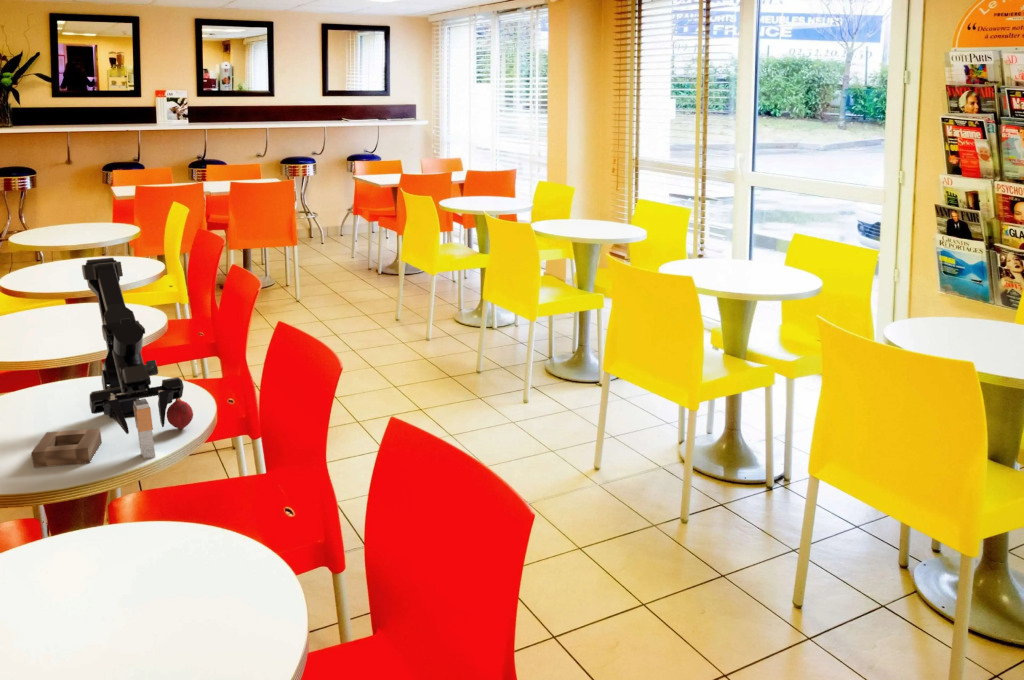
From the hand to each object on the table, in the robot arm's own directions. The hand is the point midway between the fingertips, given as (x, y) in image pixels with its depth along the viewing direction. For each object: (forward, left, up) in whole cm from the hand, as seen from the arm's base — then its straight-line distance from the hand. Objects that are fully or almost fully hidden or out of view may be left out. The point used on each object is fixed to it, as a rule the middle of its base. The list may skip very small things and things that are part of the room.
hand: (145, 429), depth 183 cm
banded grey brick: (0, -1, -7) cm, 7 cm away
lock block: (+17, -5, -7) cm, 19 cm away
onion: (-5, -15, -7) cm, 17 cm away
